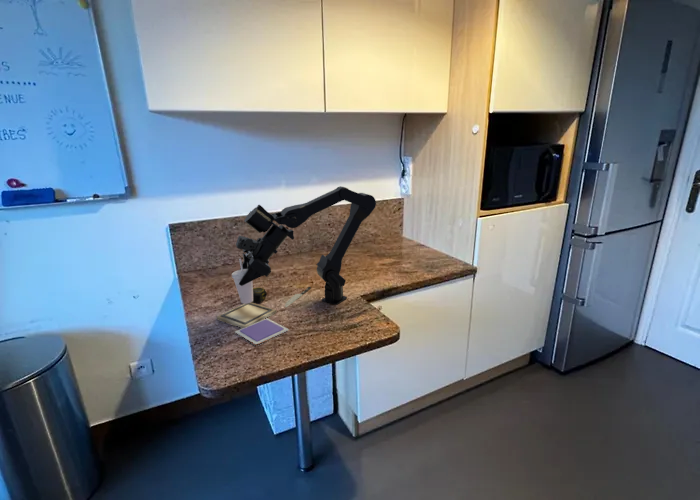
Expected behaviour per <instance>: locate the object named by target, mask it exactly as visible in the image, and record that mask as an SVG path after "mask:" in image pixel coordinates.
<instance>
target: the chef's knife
mask: <svg viewBox="0 0 700 500" xmlns="http://www.w3.org/2000/svg"><path fill="white" fill-rule="evenodd" d="M311 288H312V287H311V286H307V288H306V289H305V290H303V291H301V292H300V293H294V295H293V296H292V297H290V298H289V299H288V300H287V301H286V302H285V304H284V307H285V308H287V307H288V306H289V307H290V305H292V304H293V303H295V301H297V300H298V299H299V298H301V297H302V296H303V295H305V294H306V293H307V292H309V290H311Z"/></svg>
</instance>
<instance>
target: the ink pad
mask: <svg viewBox="0 0 700 500" xmlns="http://www.w3.org/2000/svg"><path fill="white" fill-rule="evenodd" d="M288 330H289V331H290V329H289V328H287V327H286V326H284V325H281V324H280V323H277V322H276V321H273V320H272V319H270V318H269V317H268V318H266V319H264V320H261V321H259V322H256V323H254V324H252V325H249V326H248V327H246V328H239V329H238V330H235V331H234V334H236V333H237V334H238V335H237V334H236V335H237V336H239V335H240V336H242V337H244V338H245V339H247V340H249V341H251V342H253V343H254V344H258V343H260V342H263V341H265V340H268V339H270V338H272V337H275V336H277V335H279V334H281V333H284V332H286V331H288ZM289 331H288V332H289ZM286 333H287V332H286ZM284 334H285V333H284ZM240 336H239V337H240ZM279 336H280V335H279ZM242 337H241V338H242ZM277 337H278V336H277ZM244 338H243V339H244ZM275 338H276V337H275ZM245 339H244V340H245ZM247 340H246V341H247Z"/></svg>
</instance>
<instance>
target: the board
mask: <svg viewBox="0 0 700 500" xmlns="http://www.w3.org/2000/svg"><path fill="white" fill-rule="evenodd" d="M275 314H277V309H275V308H271V307H267V306H265V305H261V304H258V303H256V302H251V303H247V304H243V303H242V304H241V305H239V306H237V307H234V308H233V309H231V310H228V311H226V312H223V313H221V314H219V315H218V316H216V320H217V321H221V322H223V323H225V322H226V323H225V324H228V323H229V324H228V325H231V324H232V325H231V326H233V327H236V326H238V327H237V328H239V327H241V328H240V329H242V328H246V327H248V326H249V325H252V324H254V323H256V322H259V321H261V320H263V319H265V318H267V317H268V318H270V317H271V316H273V315H275ZM269 316H270V317H269Z"/></svg>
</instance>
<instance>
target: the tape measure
mask: <svg viewBox="0 0 700 500" xmlns="http://www.w3.org/2000/svg"><path fill="white" fill-rule="evenodd" d="M267 294H268V293H267V291H266V289H265V288H264V287H253V301H252V303H262V302H263V301H265V299H266V298H267Z"/></svg>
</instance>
